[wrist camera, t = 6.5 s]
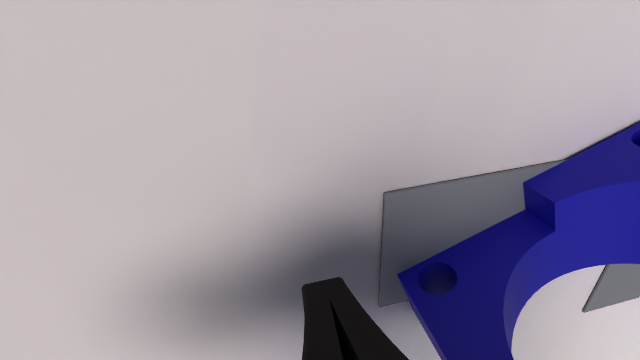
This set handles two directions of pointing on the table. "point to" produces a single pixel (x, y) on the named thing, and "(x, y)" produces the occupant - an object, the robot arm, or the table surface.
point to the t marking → (469, 229)
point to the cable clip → (530, 250)
